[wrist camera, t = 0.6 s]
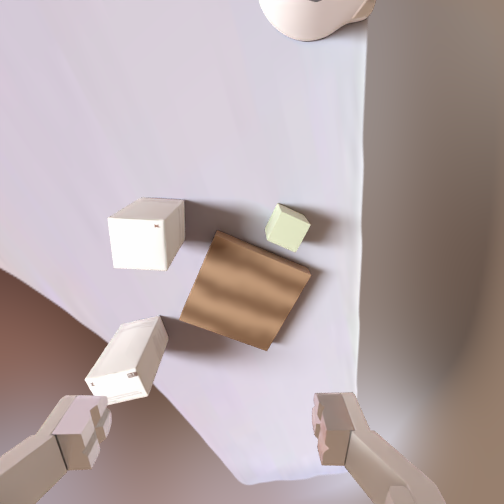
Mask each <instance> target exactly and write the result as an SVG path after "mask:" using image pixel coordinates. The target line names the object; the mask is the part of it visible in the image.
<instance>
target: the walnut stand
mask: <svg viewBox="0 0 504 504" xmlns="http://www.w3.org/2000/svg"><path fill="white" fill-rule="evenodd" d="M310 277H311V273H310V271H309V269H308V268H307V267H304V266H302V265H300V264H297V263H295V262H292V261H290V260H288V259H285V258H283V257H281V256H278V255H276V254H273V253H271V252H269V251H266V250H264V249H262V248H259V247H257V246H254V245H252V244H250V243H247V242H245V241H243V240H240V239H238V238H235V237H233V236H231V235H228V234H226V233H224V232H221V231H219V230H217V231H216V234H215V236H214V238H213V241H212V243H211V245H210V248H209V250H208V252H207V254H206V257H205V259H204V261H203V264H202V266H201V268H200V271H199V273H198V275H197V278H196V280H195V282H194V285H193V287H192V289H191V292H190V294H189V296H188V299H187V301H186V303H185V306H184V308H183V310H182V313H181V316H180V319H179V320H181V321H183V322H186V323H189V324H192V325H195V326H197V327H200V328H203V329H206V330H209V331H212V332H214V333H217V334H220V335H223V336H226V337H229V338H231V339H234V340H237V341H240V342H243V343H245V344H248V345H251V346H254V347H257V348H260V349H262V350H265V351H267V350H268V348H269V347H270V345H271V343H272V342H273V340H274V338H275V336H276V335H277V333H278V331H279V330H280V328H281V326H282V325H283V323H284V321H285V319H286V318H287V316H288V314H289V313H290V311H291V309H292V307H293V306H294V304H295V302H296V301H297V299H298V297H299V296H300V294H301V292H302V290H303V289H304V287H305V285H306V284H307V282H308V280H309V279H310Z"/></svg>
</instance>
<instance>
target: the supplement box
mask: <svg viewBox="0 0 504 504" xmlns="http://www.w3.org/2000/svg"><path fill="white" fill-rule="evenodd" d="M108 225H109V233H110V241H111V249H112V256H113V264H114V268H125V269H143V270H157V271H167V269H168V268H169V266H170V264H171V263H172V261H173V259H174V257H175V256H176V254H177V252H178V250H179V249H180V247H181V245H182V244H183V242H184V240H185V211H184V200H177V199H161V198H145V197H141V198H139V199H138V200H136V201H134V202H133V203H131V204H130V205H128V206H126V207H125V208H123V209H121V210H120V211H118V212H117V213H115V214H113V215H112V216H110V217H108Z"/></svg>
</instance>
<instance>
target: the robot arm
mask: <svg viewBox="0 0 504 504" xmlns="http://www.w3.org/2000/svg"><path fill="white" fill-rule="evenodd" d="M375 2H376V0H259V3H260V6H261V8H262V10H263V12H264V14H265V16H266V17H267V19H268V20H269V21H270V23H271V24H272V25H273V26H274V27H275V28H276V29H277V30H278V31H280V32H281V33H282V34H284V35H286V36H288V37H290V38H293V39H296V40H301V41H312V40H318V39H321V38H324V37H326V36H328V35H330V34H332V33H333V32H335V31H336V30H337V29H339V28H340V27H342V26H343V25H345V24H347V23H352V22H358V21H361V20H364V19H366V18H367V17H368V16H369V15H370V14H371V12H372V11H373V8H374V6H375ZM107 404H108V399H107V396H88V395H87V396H86V395H85V396H84V395H78V396H77V395H72V396H71V395H69V396H68V395H66V396H64V397H63V398H61V400H60V401H59V403H58V404H57V405H56V407H55V408H54V410H53V411H52V412H51V414H50V415H49V417H48V418H47V420H46V421H45V422H44V424H43V425H42V426H41V428H40V429H39V431H38V432H37V433H36V435H32V436H30V437H28V438H27V439H25V440H24V441H22V442H21V443H20V444H18V445H17V446H15V447H14V448H12V449H11V450H9V451H8V452H7V453H5V454H4V455H2V456H1V457H0V504H36V502H38V501H39V500H40V498H42V497H43V496H44V495H45V494H46V493H47V492H48V491H49V490H50V489H51V488H52V487H53V486H54V485H55V484H56V483H57V482H58V481H59V480H60V479H61V478H62V477H63V476H64V475H65V474H66V473H67V470H86V469H92V467H93V465H94V463H95V461H96V459H97V457H98V455H99V452H100V447H99V444H100V443H101V442H102V441H103V440H104V439H106V437H107V435H108V433H109V430H110V426H111V411H110V410H109V409H107V408H106V406H107ZM314 404H315V406H314V407H313V408H312V424H313V430H314V435H315V436H316V437H317V438H318V446H317V448H318V452H319V456H320V460H321V464H322V465H336V466H345V468H346V469H347V470H348V472H349V473H350V474H351V475H352V477H353V478H354V479H355V480H356V482H357V483H358V484H359V485H360V487H361V488H362V489H363V490H364V492H365V493H366V494H367V496H368V497H369V498H370V499H371V501H372V502H373V503H374V504H446V502H445V501H444V499H443V497H442V495H441V493H440V491H439V490H438V488H437V486H436V484H435V483H433V482H432V481H431V480H430V479H429V478H428V477H427V476H426V475H424V474H423V473H422V472H421V471H420V470H419V469H418V468H416V467H415V466H414V465H413V464H412V463H410V461H408V460H407V459H406V458H405V457H404V456H403V455H402V454H400V453H399V452H398V451H397V450H396V449H395V448H394V447H392V446H391V445H390V444H389V443H388V442H387V441H386V440H384V439H383V438H382V437H381V436H380V435H379V434H378V433H376V432H375V431H370V428H369V426H368V424H367V421H366V419H365V417H364V415H363V412H362V410H361V408H360V405H359V403H358V401H357V398H356V396H355V394H354V393H353V392H347V393H339V392H337V393H315V394H314Z"/></svg>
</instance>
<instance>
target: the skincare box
mask: <svg viewBox="0 0 504 504" xmlns="http://www.w3.org/2000/svg"><path fill="white" fill-rule="evenodd" d="M168 340H169V337H168V335H167V332H166V330H165V327H164V325H163V322H162V320H161V317H160V315H159V316H154V317H150V318H145V319H141V320H136V321H132V322H128V323H123V324H121V326H120V327H119V329H118V330H117V332H116V333H115V335H114V336H113V338H112V339H111V341H110V342H109V344H108V345H107V347H106V348H105V350H104V351H103V353H102V354H101V356H100V357H99V359H98V360H97V362H96V363H95V365H94V367H93V368H92V370H91V371H90V373H89V374H88V376H87V377H86V378H85V381H86V383H87V384H88V386H89V388H90V390H91V391H92V393H93V395H94V396H107V399H108V404H107V405H110V404H114V403H119V402H123V401H128V400H132V399H136V398H141V397H146V396H148V395H149V392H150V389H151V387H152V384H153V381H154V378H155V376H156V373H157V370H158V367H159V364H160V362H161V359H162V356H163V354H164V351H165V348H166V345H167V342H168Z"/></svg>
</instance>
